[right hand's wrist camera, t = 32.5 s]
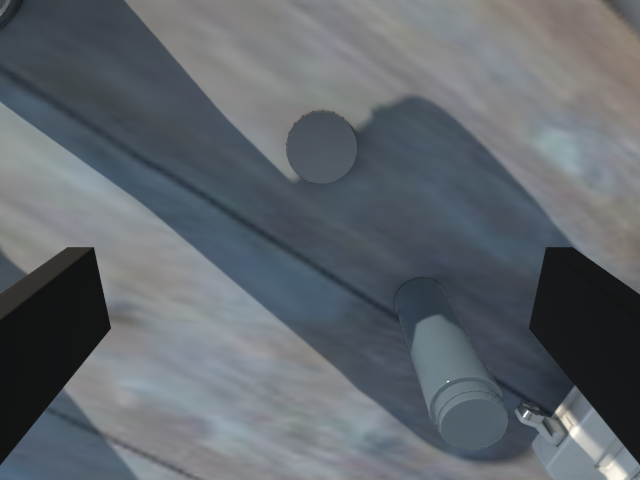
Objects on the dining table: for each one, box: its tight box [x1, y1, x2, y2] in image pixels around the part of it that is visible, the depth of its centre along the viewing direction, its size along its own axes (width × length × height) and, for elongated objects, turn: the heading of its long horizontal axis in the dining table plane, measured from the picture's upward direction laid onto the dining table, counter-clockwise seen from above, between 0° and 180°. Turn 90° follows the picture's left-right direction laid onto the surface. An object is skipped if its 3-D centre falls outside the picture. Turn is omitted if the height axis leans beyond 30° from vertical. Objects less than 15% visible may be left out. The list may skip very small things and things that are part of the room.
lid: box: [286, 110, 358, 184], centre depth 37 cm, size 6×6×2 cm
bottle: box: [395, 278, 509, 450], centre depth 36 cm, size 5×5×17 cm
